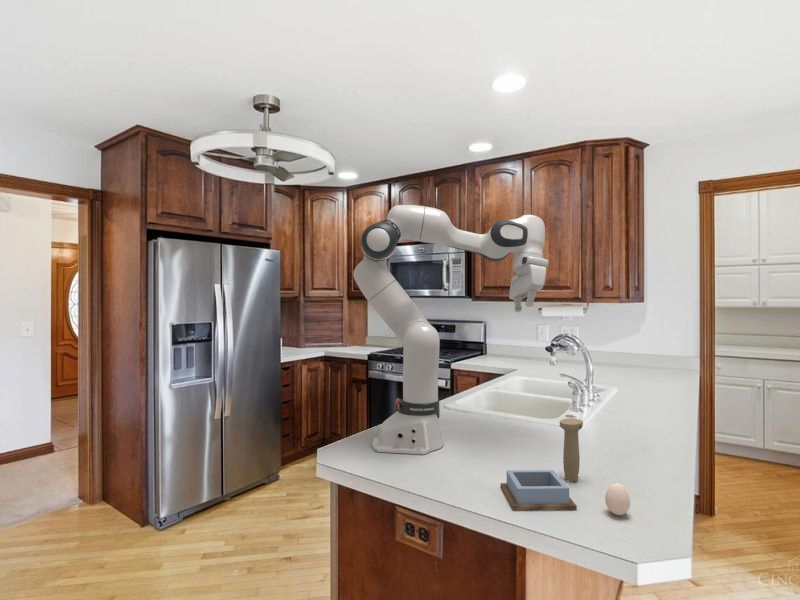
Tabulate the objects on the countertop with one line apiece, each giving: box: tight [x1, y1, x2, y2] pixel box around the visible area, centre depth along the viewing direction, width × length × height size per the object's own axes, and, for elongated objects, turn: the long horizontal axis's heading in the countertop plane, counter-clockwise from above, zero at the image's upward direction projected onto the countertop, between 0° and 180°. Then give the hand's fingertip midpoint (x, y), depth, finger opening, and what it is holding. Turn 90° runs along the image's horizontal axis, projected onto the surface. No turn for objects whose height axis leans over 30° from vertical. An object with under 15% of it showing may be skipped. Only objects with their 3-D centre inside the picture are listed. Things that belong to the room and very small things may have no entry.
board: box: [500, 482, 578, 512], centre depth 105 cm, size 14×12×1 cm
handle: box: [559, 417, 584, 483], centre depth 115 cm, size 5×6×15 cm
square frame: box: [506, 469, 570, 504], centre depth 105 cm, size 11×10×4 cm
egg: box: [604, 482, 631, 516], centre depth 97 cm, size 5×5×7 cm
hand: (523, 309), depth 139 cm, fingers open, 8 cm apart
